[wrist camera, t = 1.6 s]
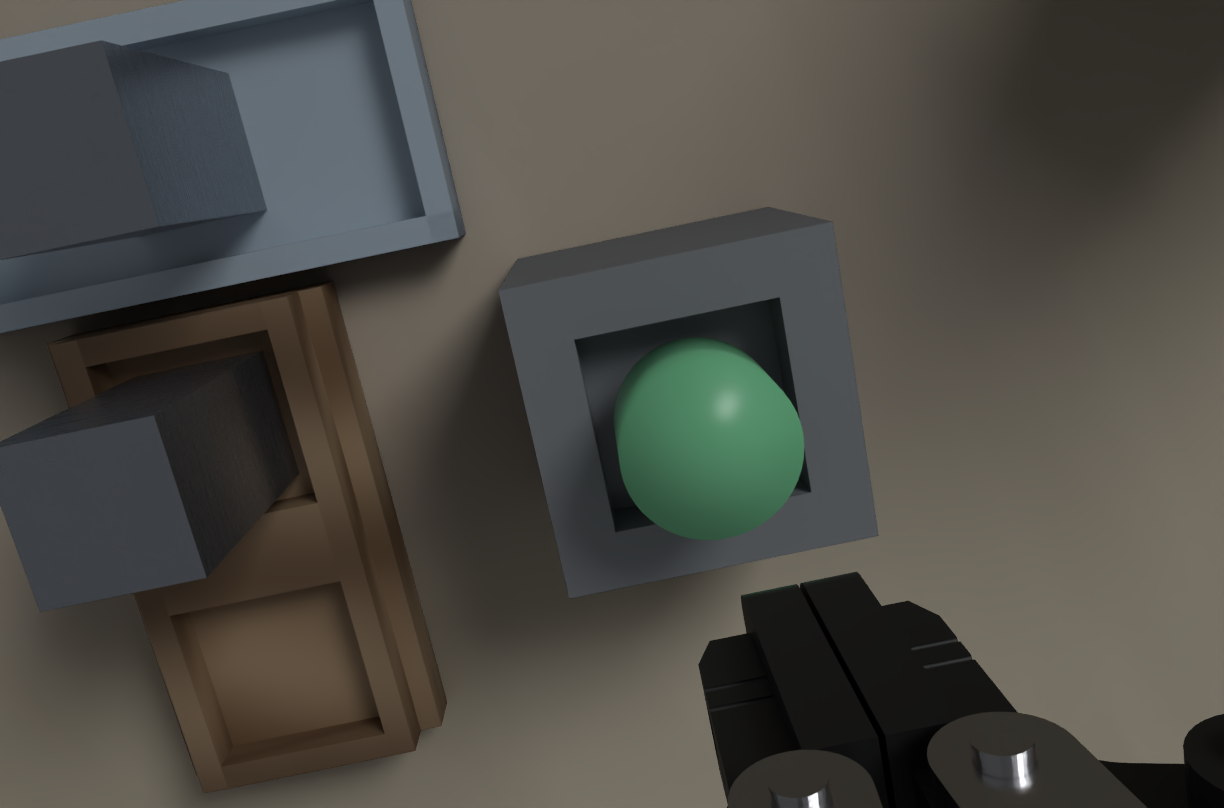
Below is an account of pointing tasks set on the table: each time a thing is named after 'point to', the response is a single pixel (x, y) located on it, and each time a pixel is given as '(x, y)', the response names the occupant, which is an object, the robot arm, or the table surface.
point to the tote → (268, 152)
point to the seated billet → (145, 480)
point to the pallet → (284, 560)
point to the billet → (116, 148)
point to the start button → (706, 439)
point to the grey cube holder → (670, 310)
